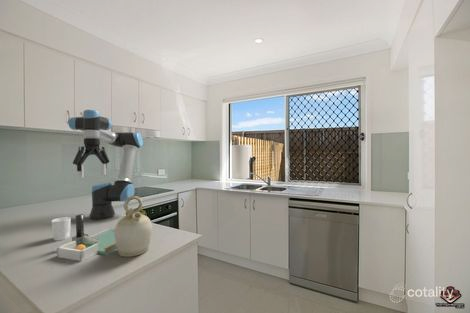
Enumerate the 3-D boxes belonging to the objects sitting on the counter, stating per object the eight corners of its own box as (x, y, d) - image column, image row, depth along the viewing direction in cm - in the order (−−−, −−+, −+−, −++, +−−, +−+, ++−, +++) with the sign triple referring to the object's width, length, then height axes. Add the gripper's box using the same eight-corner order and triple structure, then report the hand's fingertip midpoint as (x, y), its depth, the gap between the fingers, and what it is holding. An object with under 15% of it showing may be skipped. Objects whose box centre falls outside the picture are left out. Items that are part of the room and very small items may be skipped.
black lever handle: (82, 238, 107) (81, 213, 106) (103, 241, 103) (102, 215, 103) (71, 242, 102) (71, 216, 102) (93, 245, 98) (93, 218, 98)
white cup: (69, 234, 118) (68, 216, 118) (73, 237, 113) (72, 218, 113) (50, 238, 112) (49, 219, 112) (54, 242, 107) (53, 222, 107)
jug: (151, 255, 92) (149, 197, 92) (110, 261, 88) (109, 200, 87) (153, 241, 107) (152, 191, 106) (119, 245, 102) (118, 193, 102)
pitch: (107, 231, 122) (107, 226, 122) (142, 235, 115) (142, 230, 115) (66, 248, 100) (65, 242, 100) (106, 254, 93) (106, 248, 93)
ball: (77, 254, 95) (83, 245, 98) (84, 256, 94) (89, 246, 97) (70, 251, 92) (76, 242, 95) (77, 252, 91) (83, 243, 94)
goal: (74, 249, 99) (74, 240, 99) (98, 252, 95) (97, 244, 95) (57, 256, 92) (56, 247, 92) (81, 261, 88) (81, 251, 88)
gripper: (105, 139, 133) (106, 173, 133) (63, 136, 109) (64, 178, 109) (115, 139, 131) (116, 173, 131) (74, 136, 107) (75, 178, 107)
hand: (92, 176), depth 120 cm, fingers open, 13 cm apart
